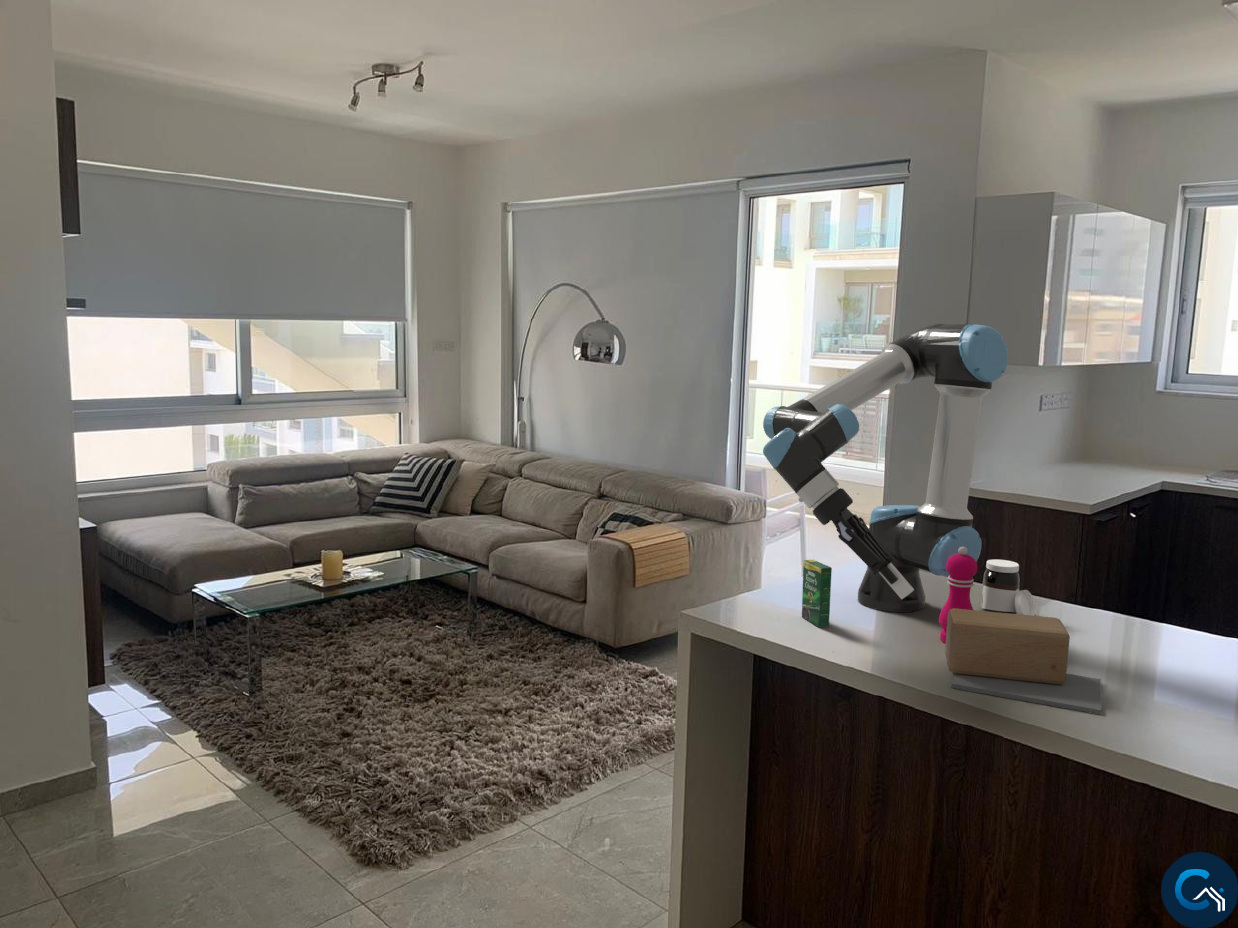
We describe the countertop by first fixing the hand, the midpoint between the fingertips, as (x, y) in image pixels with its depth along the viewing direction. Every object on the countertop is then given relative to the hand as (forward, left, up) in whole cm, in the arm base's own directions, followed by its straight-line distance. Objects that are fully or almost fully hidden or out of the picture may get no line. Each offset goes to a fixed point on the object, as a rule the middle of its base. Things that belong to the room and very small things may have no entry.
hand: (907, 594), depth 177 cm
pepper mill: (-19, +7, -14) cm, 25 cm away
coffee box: (-17, -22, -14) cm, 31 cm away
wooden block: (-1, +7, -8) cm, 11 cm away
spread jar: (-44, +15, -14) cm, 49 cm away
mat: (0, +22, -14) cm, 26 cm away
